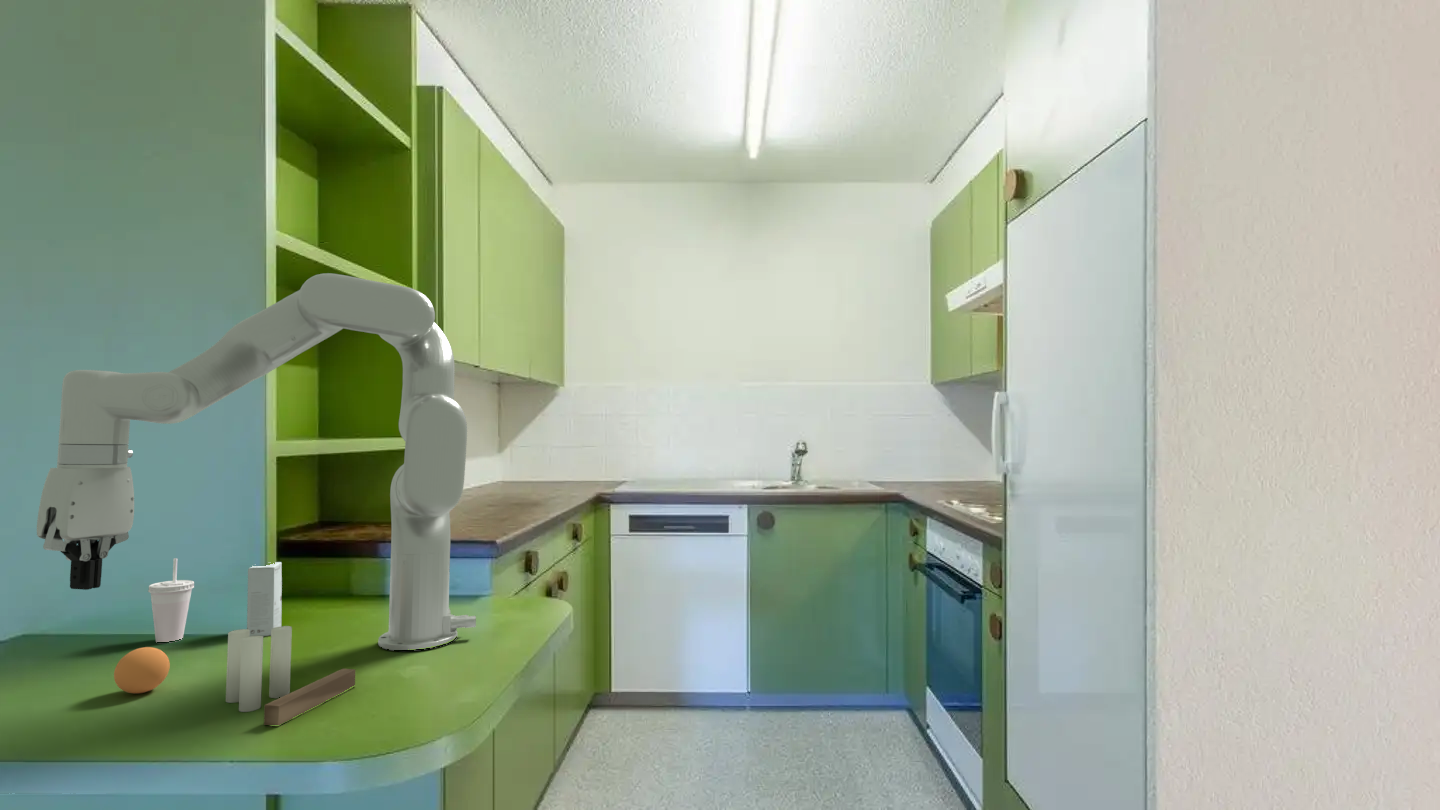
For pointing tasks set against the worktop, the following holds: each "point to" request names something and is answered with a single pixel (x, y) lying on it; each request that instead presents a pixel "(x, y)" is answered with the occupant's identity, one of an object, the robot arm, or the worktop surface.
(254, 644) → the pin left
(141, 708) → the worktop surface
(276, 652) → the pin right
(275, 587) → the skincare box
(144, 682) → the brown egg
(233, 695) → the pin front
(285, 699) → the brown wooden bar
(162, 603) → the smoothie
